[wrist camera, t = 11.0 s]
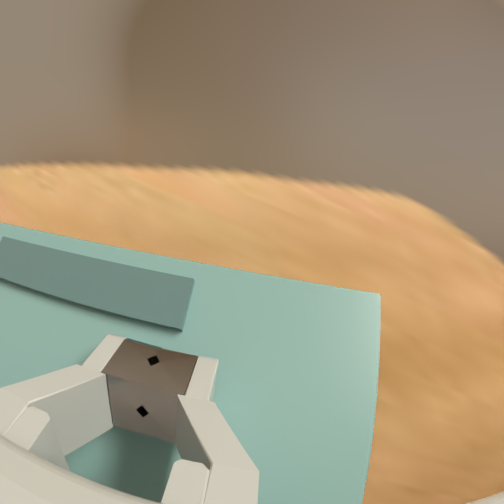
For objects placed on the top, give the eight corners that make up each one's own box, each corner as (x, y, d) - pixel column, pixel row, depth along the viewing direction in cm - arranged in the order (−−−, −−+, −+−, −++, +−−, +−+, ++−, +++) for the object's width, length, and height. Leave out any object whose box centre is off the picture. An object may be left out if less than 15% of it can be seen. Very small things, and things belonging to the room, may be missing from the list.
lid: (369, 304, 11) (384, 290, 10) (319, 610, 5) (329, 626, 4) (-46, 220, 11) (-58, 206, 10) (-106, 428, 5) (-122, 424, 4)
